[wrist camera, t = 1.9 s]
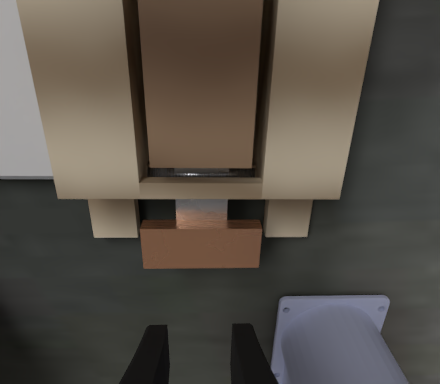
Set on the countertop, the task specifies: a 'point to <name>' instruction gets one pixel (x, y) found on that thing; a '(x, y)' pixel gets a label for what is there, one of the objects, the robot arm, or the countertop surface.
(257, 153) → the pocket board
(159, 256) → the lever
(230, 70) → the walnut block
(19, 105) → the grey pad
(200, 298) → the countertop surface
